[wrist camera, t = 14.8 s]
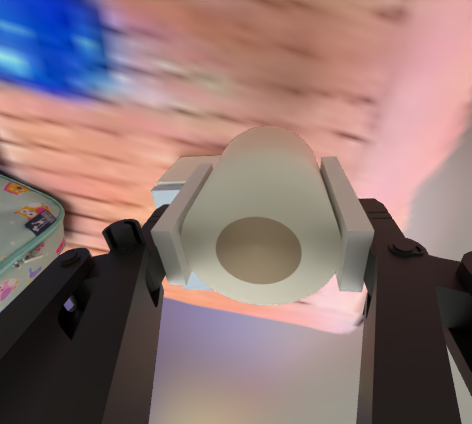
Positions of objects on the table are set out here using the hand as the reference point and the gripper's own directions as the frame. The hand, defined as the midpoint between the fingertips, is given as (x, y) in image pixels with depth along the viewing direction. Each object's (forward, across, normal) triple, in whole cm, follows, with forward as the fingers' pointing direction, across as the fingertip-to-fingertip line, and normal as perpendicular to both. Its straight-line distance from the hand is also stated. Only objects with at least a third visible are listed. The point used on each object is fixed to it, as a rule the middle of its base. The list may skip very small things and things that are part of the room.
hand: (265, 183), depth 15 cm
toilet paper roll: (+1, 0, 0) cm, 1 cm away
